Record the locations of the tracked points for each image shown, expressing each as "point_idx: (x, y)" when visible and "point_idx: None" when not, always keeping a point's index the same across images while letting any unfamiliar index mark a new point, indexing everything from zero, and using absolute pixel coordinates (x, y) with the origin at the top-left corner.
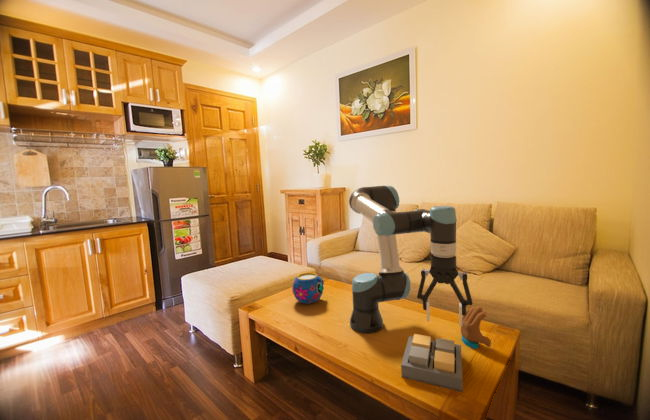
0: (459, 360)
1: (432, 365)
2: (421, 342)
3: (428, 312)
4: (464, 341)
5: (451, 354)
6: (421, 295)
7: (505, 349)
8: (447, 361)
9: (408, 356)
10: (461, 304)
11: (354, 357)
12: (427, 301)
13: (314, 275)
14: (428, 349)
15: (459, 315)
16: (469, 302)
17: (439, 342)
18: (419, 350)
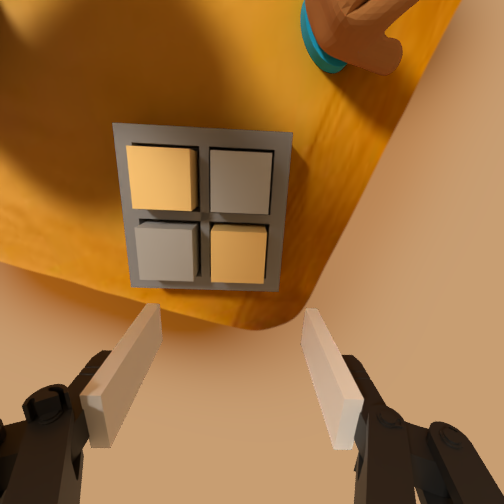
0: (278, 222)
1: (208, 266)
2: (162, 200)
3: (141, 377)
4: (308, 43)
5: (258, 239)
6: (3, 482)
7: (432, 43)
8: (246, 274)
9: None
10: (356, 423)
11: (3, 237)
12: (96, 436)
13: None
14: (190, 233)
15: (315, 388)
16: (430, 494)
17: (221, 181)
18: (164, 247)
